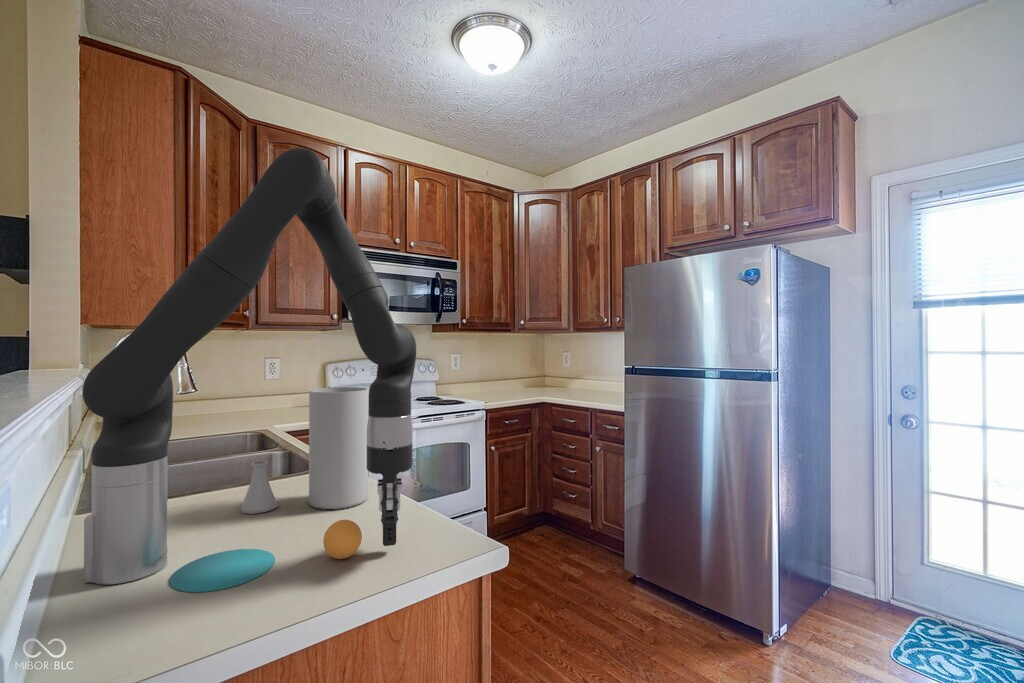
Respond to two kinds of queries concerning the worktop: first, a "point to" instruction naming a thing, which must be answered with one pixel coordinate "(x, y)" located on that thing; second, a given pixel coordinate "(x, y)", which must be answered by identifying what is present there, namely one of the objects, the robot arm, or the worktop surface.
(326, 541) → the ball
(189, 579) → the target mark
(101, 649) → the worktop surface
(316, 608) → the worktop surface
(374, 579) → the worktop surface
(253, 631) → the worktop surface
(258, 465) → the flask
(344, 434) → the cylinder vase
